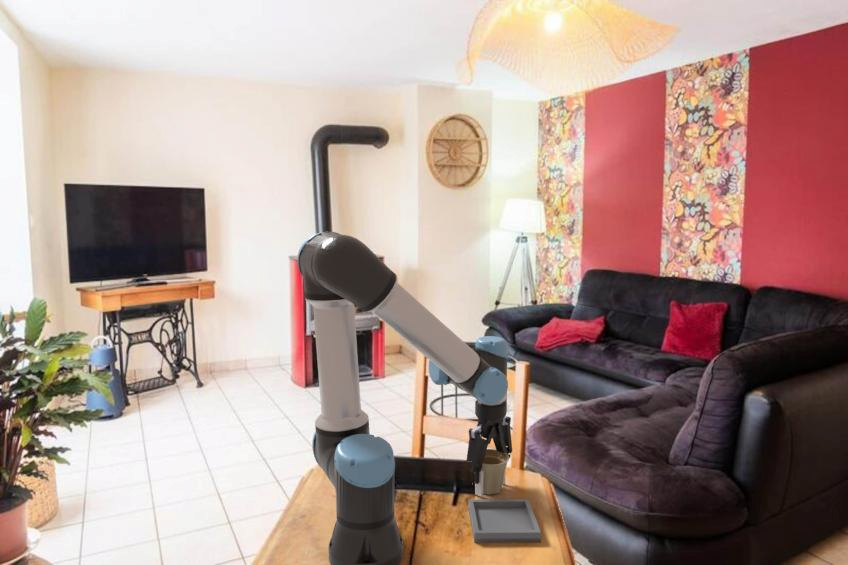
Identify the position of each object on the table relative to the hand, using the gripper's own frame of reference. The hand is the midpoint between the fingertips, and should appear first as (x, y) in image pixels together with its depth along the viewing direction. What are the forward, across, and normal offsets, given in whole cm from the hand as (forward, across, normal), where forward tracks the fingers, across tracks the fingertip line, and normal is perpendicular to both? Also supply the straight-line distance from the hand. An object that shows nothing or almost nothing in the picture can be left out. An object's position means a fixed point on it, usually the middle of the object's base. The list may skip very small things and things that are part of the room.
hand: (489, 488), depth 151 cm
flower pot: (0, 0, 0) cm, 1 cm away
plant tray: (0, -11, -12) cm, 16 cm away
